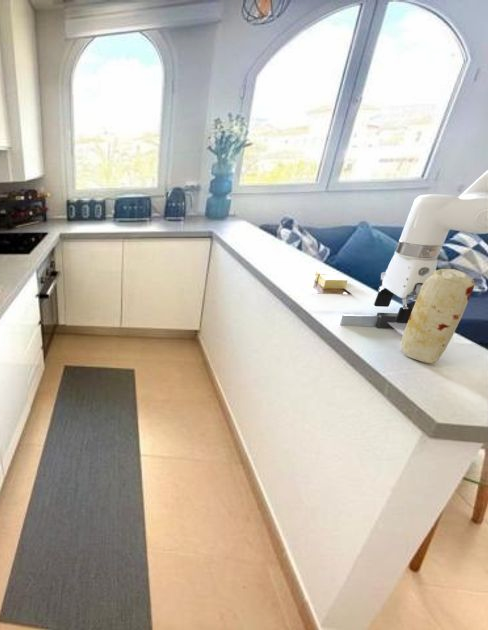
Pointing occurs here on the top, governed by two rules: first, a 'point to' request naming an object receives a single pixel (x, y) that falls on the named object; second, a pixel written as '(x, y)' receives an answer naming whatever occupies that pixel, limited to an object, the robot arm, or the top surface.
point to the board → (316, 286)
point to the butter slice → (324, 274)
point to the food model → (436, 314)
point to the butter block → (332, 281)
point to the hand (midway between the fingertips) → (391, 313)
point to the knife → (370, 320)
